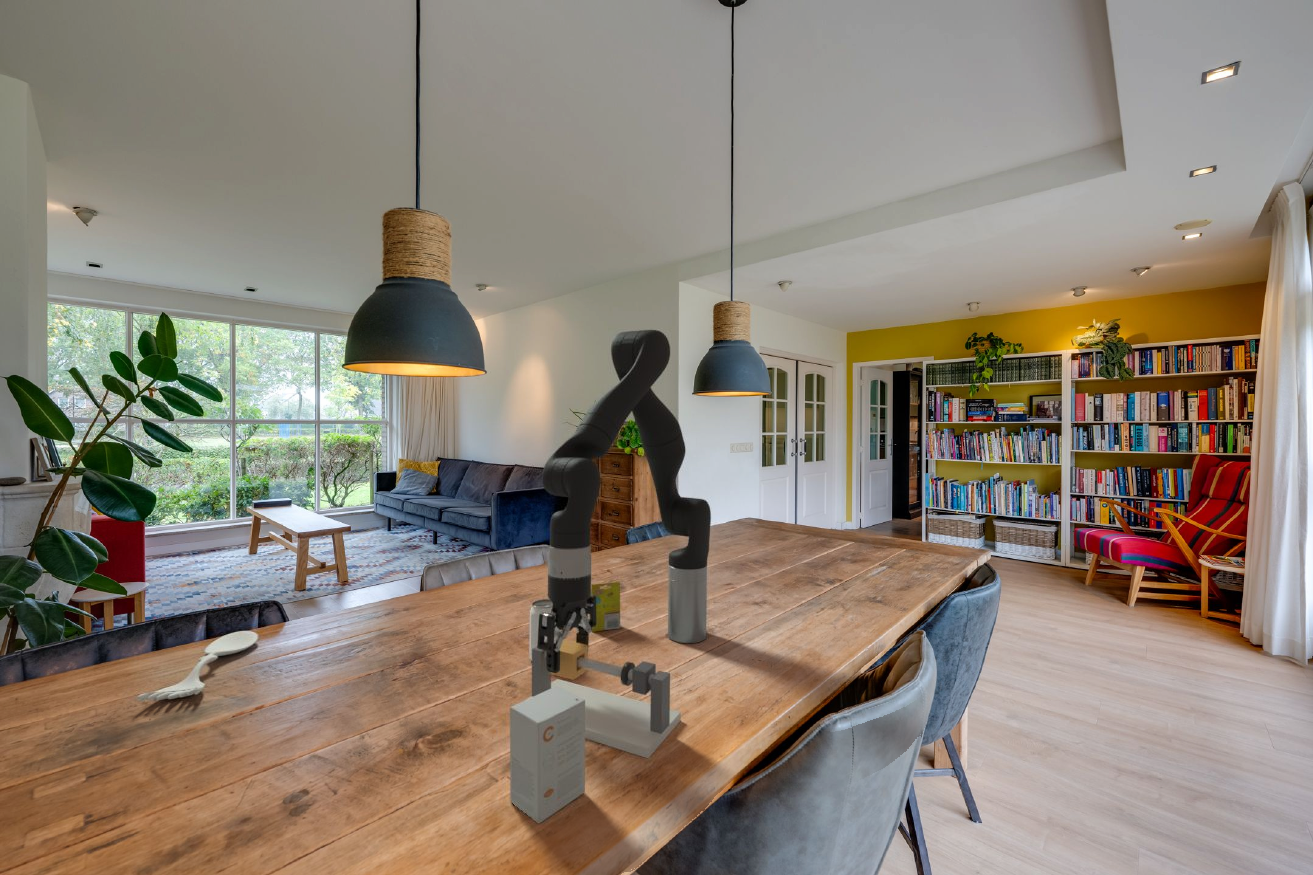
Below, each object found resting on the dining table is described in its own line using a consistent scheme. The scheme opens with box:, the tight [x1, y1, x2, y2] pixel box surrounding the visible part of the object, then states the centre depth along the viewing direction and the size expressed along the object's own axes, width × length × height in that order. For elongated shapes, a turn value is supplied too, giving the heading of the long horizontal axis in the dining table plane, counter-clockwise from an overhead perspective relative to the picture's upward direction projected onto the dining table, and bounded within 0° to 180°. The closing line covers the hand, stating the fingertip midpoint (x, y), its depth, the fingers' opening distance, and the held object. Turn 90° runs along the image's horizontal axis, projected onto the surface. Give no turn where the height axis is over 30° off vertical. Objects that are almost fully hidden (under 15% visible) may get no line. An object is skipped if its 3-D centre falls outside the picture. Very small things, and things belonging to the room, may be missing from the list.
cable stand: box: [525, 647, 682, 759], centre depth 94 cm, size 12×26×11 cm, turn 63°
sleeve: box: [550, 639, 589, 681], centre depth 96 cm, size 4×5×4 cm
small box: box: [509, 686, 586, 825], centre depth 73 cm, size 8×6×13 cm
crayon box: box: [589, 581, 621, 633], centre depth 135 cm, size 7×3×12 cm, turn 108°
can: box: [529, 598, 561, 662], centre depth 117 cm, size 6×6×12 cm
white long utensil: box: [136, 630, 259, 702], centre depth 110 cm, size 9×32×4 cm, turn 18°
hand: (568, 662), depth 96 cm, fingers open, 8 cm apart
